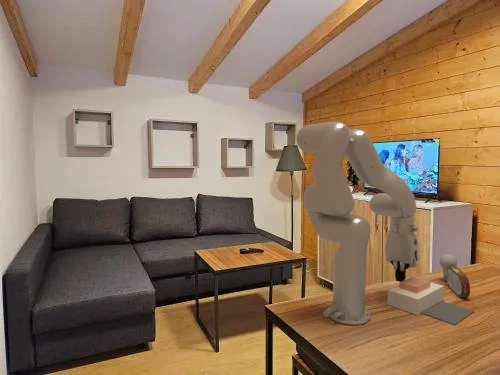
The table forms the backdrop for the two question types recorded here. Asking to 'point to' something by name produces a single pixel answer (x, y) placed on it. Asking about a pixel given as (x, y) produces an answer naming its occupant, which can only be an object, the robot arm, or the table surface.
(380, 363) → the table surface
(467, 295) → the tin
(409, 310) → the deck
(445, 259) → the lightbulb
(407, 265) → the robot arm
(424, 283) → the tile
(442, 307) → the mat
